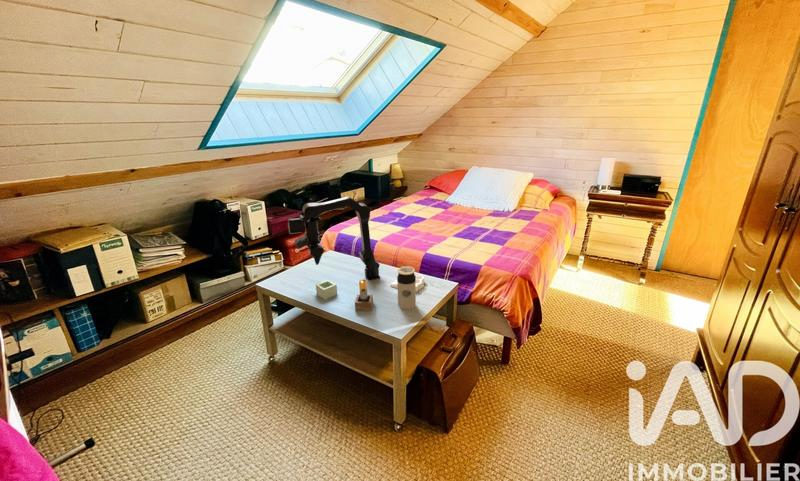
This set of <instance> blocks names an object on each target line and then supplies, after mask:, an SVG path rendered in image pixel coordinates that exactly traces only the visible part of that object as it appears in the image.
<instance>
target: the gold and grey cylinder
mask: <svg viewBox="0 0 800 481" xmlns="http://www.w3.org/2000/svg"><path fill="white" fill-rule="evenodd" d="M367 283H368V282H367V280H365V279H361V280H359V282H358V286H359V287H358V288H359V295H360V302H368V298H367V295H368V286H367V285H368V284H367Z"/></svg>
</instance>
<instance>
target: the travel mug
mask: <svg viewBox="0 0 800 481" xmlns="http://www.w3.org/2000/svg"><path fill="white" fill-rule="evenodd" d="M415 272H416V269H415V268H414V267H412V266H401V267H399V268H398V269H397V273H398V275H397V276H396V277H397V278H396V280H397V287H398V288H397V306H398V307H399V308H400V309H401V310H402V309H403V310H411V309H413V308H416V303H417V302H416V299H417V297H416V293H417V292H416V277H415Z"/></svg>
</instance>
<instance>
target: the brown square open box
mask: <svg viewBox="0 0 800 481" xmlns="http://www.w3.org/2000/svg"><path fill="white" fill-rule="evenodd" d="M373 296H374V295H373V294H367V298H368V302H360V294H356V297H355V300H354V311H355V312H372V309H373V305H374V297H373Z"/></svg>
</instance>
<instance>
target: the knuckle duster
mask: <svg viewBox="0 0 800 481" xmlns="http://www.w3.org/2000/svg"><path fill="white" fill-rule="evenodd" d="M414 275H415V274H414ZM415 277H416V293H417V292H419V290H422V288H423V287H425V285H424V284H425V276H423V275H420V274H416V275H415ZM389 286H390V287H392V288H395V289H398V287H397V279H396V280H395V281H393V282H392V283H390V284H389Z"/></svg>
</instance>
